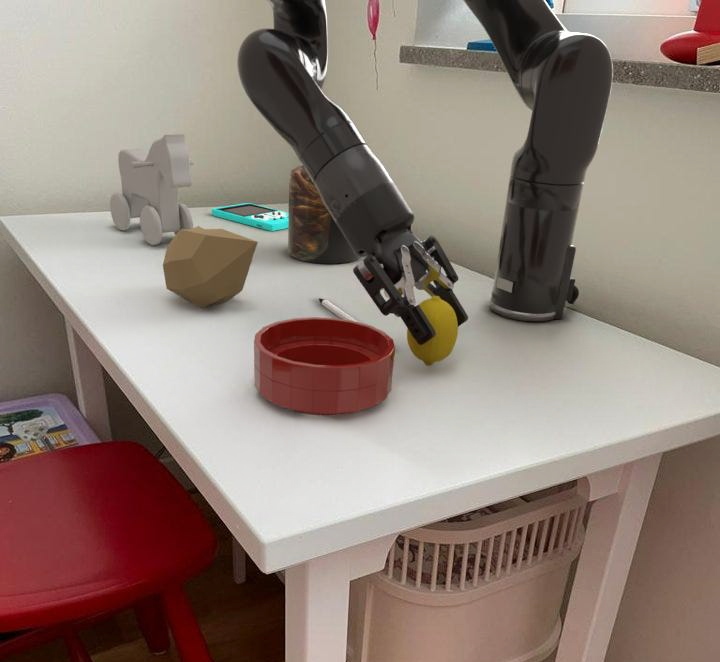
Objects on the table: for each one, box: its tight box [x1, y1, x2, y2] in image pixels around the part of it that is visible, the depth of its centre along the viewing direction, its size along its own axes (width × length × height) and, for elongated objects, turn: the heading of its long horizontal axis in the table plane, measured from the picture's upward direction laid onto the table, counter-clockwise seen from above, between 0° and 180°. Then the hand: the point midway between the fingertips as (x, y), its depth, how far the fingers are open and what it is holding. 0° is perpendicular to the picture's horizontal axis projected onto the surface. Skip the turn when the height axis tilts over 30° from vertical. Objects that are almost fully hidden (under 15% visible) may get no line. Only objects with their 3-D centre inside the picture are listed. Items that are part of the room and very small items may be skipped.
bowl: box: [253, 316, 396, 416], centre depth 78 cm, size 14×14×6 cm
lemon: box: [406, 296, 459, 367], centre depth 85 cm, size 6×6×8 cm
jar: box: [287, 162, 361, 264], centre depth 121 cm, size 12×12×15 cm
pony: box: [109, 133, 195, 247], centre depth 124 cm, size 20×10×17 cm, turn 40°
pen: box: [318, 297, 359, 322], centre depth 97 cm, size 1×19×1 cm, turn 28°
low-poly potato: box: [162, 225, 259, 308], centre depth 100 cm, size 15×11×12 cm
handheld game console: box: [211, 202, 289, 232], centre depth 144 cm, size 10×16×1 cm, turn 51°
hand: (445, 331), depth 84 cm, fingers open, 6 cm apart
